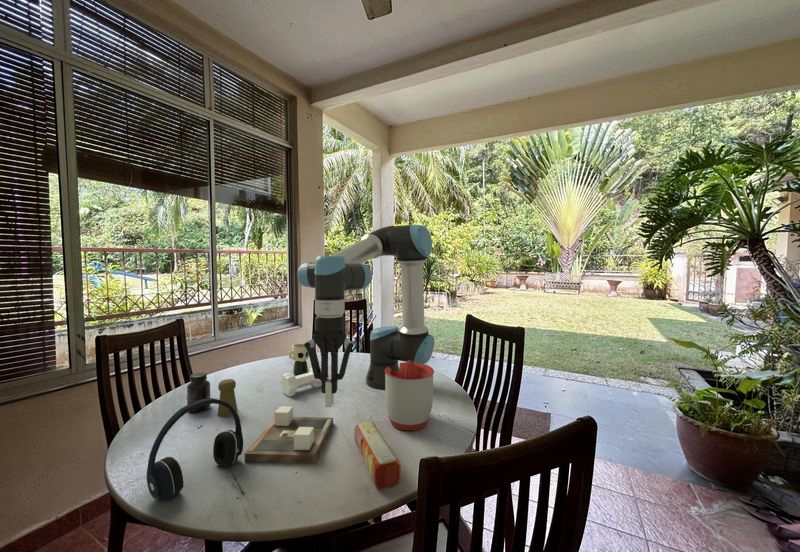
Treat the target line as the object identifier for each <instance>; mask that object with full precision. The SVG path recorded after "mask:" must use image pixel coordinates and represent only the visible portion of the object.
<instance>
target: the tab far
mask: <svg viewBox="0 0 800 552" xmlns="http://www.w3.org/2000/svg"><path fill="white" fill-rule="evenodd" d="M293 417H294V407H293V406H285V405H283V406H279V407H278V408H277V409H276V410H275V412H274V419H275V426H289V424H290V423H291V421H292V420H293Z"/></svg>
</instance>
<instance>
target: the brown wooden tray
mask: <svg viewBox="0 0 800 552" xmlns="http://www.w3.org/2000/svg"><path fill="white" fill-rule="evenodd" d="M333 425H334V417H318V416H317V417H315V416H314V417H313V416H293V420H292V421H291V423H290V424H289V426H275V418H274V419H272V421H271V422H270V423H269V424H268V426H267V427H266V428H265V430H263V432H262V433H261V434H260V435H258V437H257V439H255V441H254V442H253V443H252V445H251V446H249V448H247V450H246V451H245V453H244V462H252V463H253V462H257V463H259V462H260V463H287V464H288V463H291V464H292V463H293V464H294V463H295V464H297V463H298V464H315V463H316V462H317V460H318V457H319V455H320V453H321V451H322V450H323V447H324V444H325V443H326V441H327V437H328V436H329V434H330V432H331V430H332V427H333ZM299 427H314V442H313V444H312V446H311V448H310V450H294V434H295V432H296V431H297V429H298V428H299ZM325 440H326V441H325Z"/></svg>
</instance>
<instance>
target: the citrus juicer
mask: <svg viewBox="0 0 800 552" xmlns="http://www.w3.org/2000/svg"><path fill="white" fill-rule="evenodd" d="M391 370H392V369H390V368H389V367H386V368H385V389H384V392H385V394H384V396H385V397H384V398H385V406H386V412H387V415H388V416H387V417H388V419H389V421H390V424H391V426H393V427H395V428H397V429H399V430H403V431H407V430H412V431H417V430H420V429H422V428H425V427H426V425H427V424H428V422H429V419H430V417H431V412H432V408H433V401H434V373H435V370H434V368H433V367H432V366H430V365H428V364H426V363H425V364H421V363H413V362H412V361H410V360H408V361H407V362H404V361H403V362H399V371H396V372H391Z"/></svg>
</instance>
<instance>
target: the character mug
mask: <svg viewBox="0 0 800 552" xmlns="http://www.w3.org/2000/svg"><path fill="white" fill-rule="evenodd" d="M305 343H306V342H305ZM305 343H295V344H292V346H291V350H290V351H289V352H288V359H292V360H293V361H294V364H293V372H292V373H293V374H294V375H295V376H298V375H302V374H306V373H309V367H308V362H307V360H308V359H310V357H309V353H308V351H307V349H306V348H305V346H304V344H305Z"/></svg>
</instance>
